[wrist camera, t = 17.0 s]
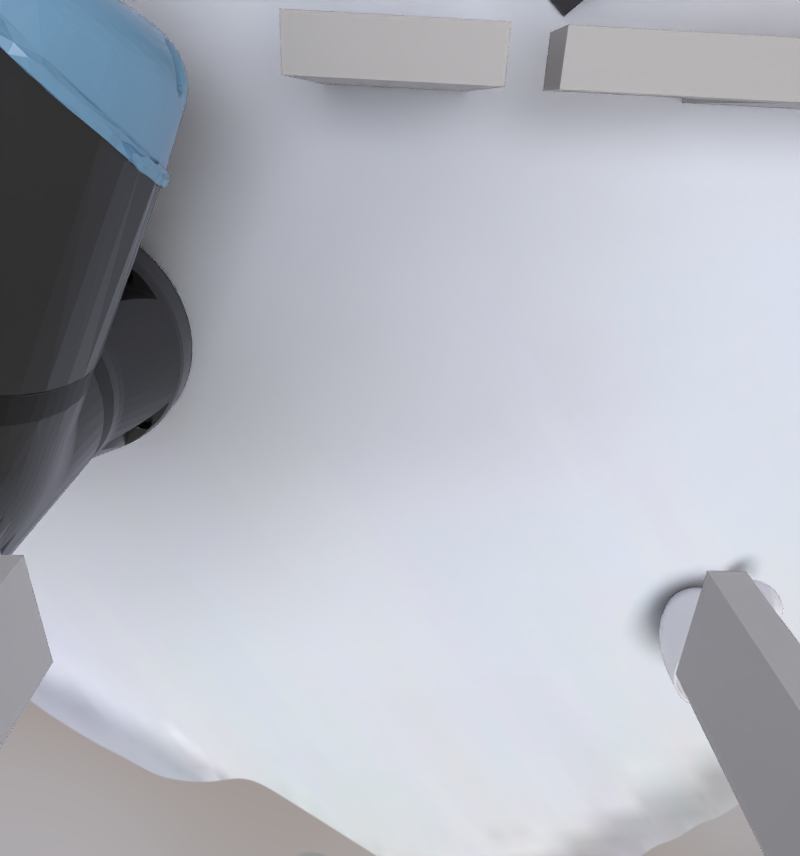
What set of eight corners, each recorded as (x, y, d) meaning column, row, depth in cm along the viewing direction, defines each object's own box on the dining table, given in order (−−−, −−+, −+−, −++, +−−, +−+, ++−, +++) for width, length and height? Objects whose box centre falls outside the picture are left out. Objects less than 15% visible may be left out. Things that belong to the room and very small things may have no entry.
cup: (622, 618, 53) (651, 684, 47) (711, 532, 50) (755, 593, 43) (691, 656, 55) (727, 724, 49) (782, 577, 51) (833, 640, 45)
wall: (321, 83, 36) (281, 74, 23) (321, 41, 35) (279, 8, 23) (893, 113, 37) (1151, 120, 24) (908, 73, 36) (1182, 58, 23)
